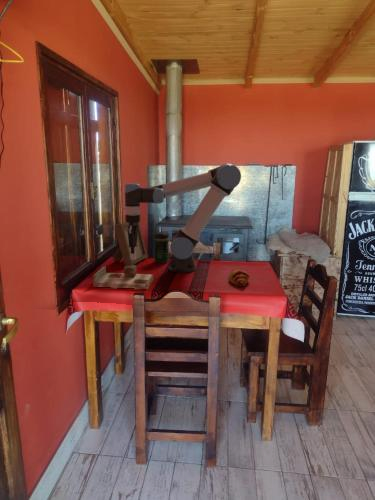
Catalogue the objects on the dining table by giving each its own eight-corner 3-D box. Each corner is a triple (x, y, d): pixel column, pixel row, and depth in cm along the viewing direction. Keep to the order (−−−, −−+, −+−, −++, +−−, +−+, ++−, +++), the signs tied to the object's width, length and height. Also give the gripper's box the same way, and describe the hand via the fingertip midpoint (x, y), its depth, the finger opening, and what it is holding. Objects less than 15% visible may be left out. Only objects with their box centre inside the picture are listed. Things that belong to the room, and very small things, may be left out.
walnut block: (136, 274, 183) (136, 265, 182) (134, 277, 178) (133, 268, 177) (126, 274, 183) (126, 265, 182) (124, 277, 179) (123, 267, 177)
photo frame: (147, 258, 225) (146, 218, 219) (131, 267, 205) (129, 224, 199) (126, 256, 230) (124, 217, 224) (109, 265, 210) (106, 223, 204)
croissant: (229, 281, 192) (223, 269, 191) (246, 273, 192) (239, 260, 190) (236, 294, 172) (229, 280, 170) (255, 285, 171) (248, 271, 169)
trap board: (153, 279, 184) (153, 268, 183) (147, 289, 169) (146, 277, 167) (104, 277, 187) (103, 266, 185) (93, 287, 171) (93, 275, 170)
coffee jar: (165, 264, 212) (165, 233, 207) (153, 263, 214) (152, 232, 209) (170, 260, 221) (170, 230, 217) (158, 259, 223) (158, 230, 218)
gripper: (128, 212, 189) (129, 255, 194) (122, 215, 176) (122, 261, 181) (142, 212, 188) (142, 256, 193) (136, 216, 175) (137, 262, 181)
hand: (133, 258), depth 187 cm, fingers closed
